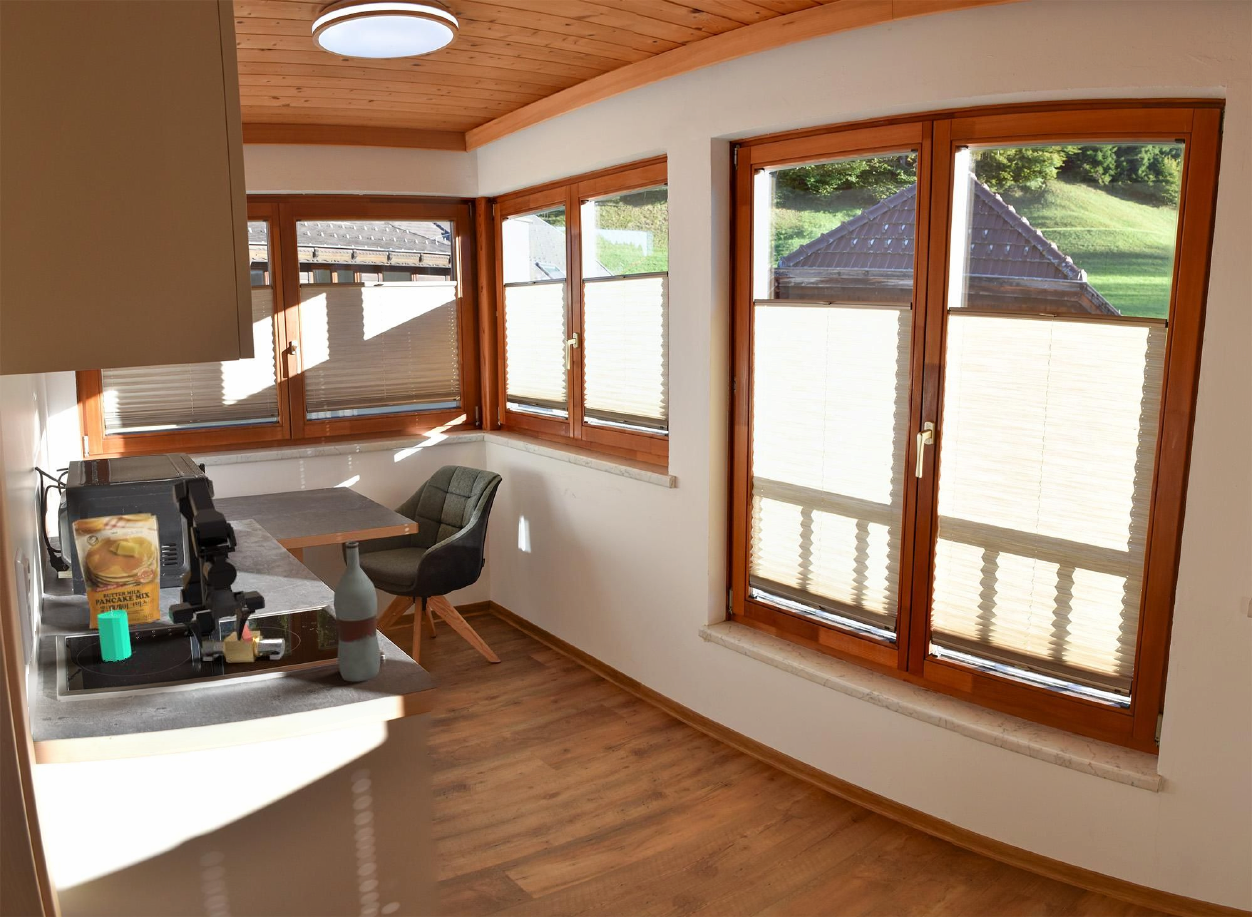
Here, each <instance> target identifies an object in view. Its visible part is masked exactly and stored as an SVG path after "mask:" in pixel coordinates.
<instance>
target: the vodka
mask: <svg viewBox="0 0 1252 917" xmlns="http://www.w3.org/2000/svg"><path fill="white" fill-rule="evenodd" d="M345 550H346V551H345V552H346V569H345V571H344V573H343V574H342V576H341V578H340V579H339V581H338V583H337V585H336V586H335V589H334V594H333V608H334V613H335V619H336V625H337V633H338V646H337V647H338V648H337V664H338V668H339V672H340V675H341V677H342V678H341V679H343V680H345V681H347V682H352V683H353V682H364V681H368V680H371V679H374V678H375V677H377V676H378V675H379V671H380V667H381V657H382V656H381V650H380V645H379V640H378V636H377V620H378V619H377V617H378V616H377V615H378V597H377V592H376V591H377V590H376V588H375V586H374V585H375V584H374V582H372V581H371V579H370V578H369V577H368V575H367V574H366V572H364V570H363V569H362V567H360V557H359V555H360V554H359V542H358V541H348V542H346V543H345Z"/></svg>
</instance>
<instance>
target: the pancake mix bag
mask: <svg viewBox="0 0 1252 917" xmlns="http://www.w3.org/2000/svg"><path fill="white" fill-rule="evenodd" d="M70 525H71V529H72V534H73V539H74V540H73V542H74V544H75V547H76V552H77V557H78V558H77V559H78V562H79V568H80V571H81V572H80V573H81V575H82V578H83V581H84V587H85V593H86V598H87V602H88V604H89V605H88V606H89V614H90V619H89V620H90V621H89V622H90V623H89V629H98V630H99V627H98V619H97V615H99V614H102V613H105V612H109V611H111V607H112V610H125V611H126V613H127V620H128V627H130V626H138V625H145V624H151V623H153V622H155V621H158V620H161V619H163V617H162V614H161V610H160V599H161V598H160V596H161V586H160V584H161V582H160V580H161V561H160V560H161V547H160V536H159V520H158V517H157V515H152V512H141V513H131V514H123V515H119V514H118V515H108V516H100V517H99V516H98V517H90V518H82V519H77V520H76V521H74V522H73V523H70Z"/></svg>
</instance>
